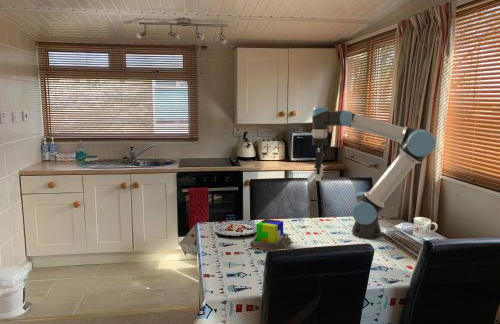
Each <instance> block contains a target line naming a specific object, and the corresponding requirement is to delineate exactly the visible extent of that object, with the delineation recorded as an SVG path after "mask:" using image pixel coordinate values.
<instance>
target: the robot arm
mask: <svg viewBox="0 0 500 324" xmlns="http://www.w3.org/2000/svg"><path fill="white" fill-rule="evenodd" d="M311 118H312V119H311V121H312V127H311V128H312V130H311V131H310V132H311V135H312V139H311V140H312V142H311V145H312V146H316V148H315V151H314V152H315V165H314V166H313V167H314V169H315V182H316V181H317V182H320V181H322V177H323V176H324V175H323V174H324V173H323V171H324V170H323V169H324V167H323V166H324V164H325V161H324V159H323V158H324V157H323V156H324V149H325V148H323V147H324V146H327V145H328V138H327V137H328V127H348V128H352V129H355V130H359V131H362V132H365V133H368V134H371V135H375V136H378V137H382V138H385V139H388V140H390V141H394V142H397V143H399V145H401V146H400V147H399V154H398V155H397V156H396V157H395V159H394V160H393V161H392V162H391V164H390V165H389V166H388V167H387V169H386V170H385V171H384V173H383V174H382V175H381V176H380V177H379V178H378V180H377V181H376V182H375V184H374V185H373V186H372V188H371V189H370V190H368V191H358V192H357V193H356V196H355V198H356V200H355V203H354V204H353V206H352V210H351V213H352V214H351V215H352V218H353V219H354V220H355V221H354V224H353V226H352V230H351V232H352V234H351V235H353V236H355V237H356V238H361V239H367V240H369V239H370V240H371V239H378V238H380V237H382V229H381V226H380V222H379V215H380V213H381V211H382V210H383V209H384V208H385V202H386V200H387V199H388V198H389V196H391V194H392V193H393V192H394V191H395V189H396V188H397V187H398V186H399V185H400V184H401V182H402V181H403V180H404V178H405V177H406V176H407V175H408V174H409V173H410V172H411V170H412V169H413V167H415V166H416V164H421V163H423V161H424V160H425V159H426V157H427V156H428V155H430V154H431V153H433V151H434V149H435V148H436V139H435V136H434V134H432V133H431V132H430V131H428V130H427V129H424V128H423V129H422V128H417V127H415V128H414V127H410V126H404V127H403V126H399V125H397V124H392V123H390V122H385V121H382V120H378V119H375V118H371V117H368V116H365V115H362V114H357V113H354V112H352V111H350V110H328V107H327V106H323V107H320V106H319V107H318V106H315V107H313V108H312V116H311Z"/></svg>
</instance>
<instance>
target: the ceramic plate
mask: <svg viewBox="0 0 500 324" xmlns="http://www.w3.org/2000/svg"><path fill="white" fill-rule="evenodd" d="M231 223H239V224H247V225H250V226H252V227H253V228H254V230H253V231H252V232H250V233H245V234H227V233H223V232H221V231H220V230H219V227H221V226H223V225H226V224H229V225H228V226H229V227H227V228H226V230H225V231H233V229H231V228H235V227H236V226H237V225H233V224H231ZM230 227H231V228H230ZM242 228H244V229H246V227H245V226H244V225H239V226H238V228H237V229H234V230H235V231H236V232H243V230H244V229H243V230H242ZM248 229H250V228H247V230H248ZM213 230H214V232H215V233H217V234H220V235H224V236H229V235H231V236H230V237H240V235H243V236H248V235H251V234H255V233H257V223H254V222H251V221H244V220H240V221H239V220H234V221H233V220H232V221H225V222H222V223H218V224H216V225H215V226H214V227H213Z"/></svg>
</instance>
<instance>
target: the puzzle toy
mask: <svg viewBox="0 0 500 324" xmlns="http://www.w3.org/2000/svg"><path fill="white" fill-rule="evenodd" d="M256 224H257V232H256V234H257V242H266V243H280V242H282V241H283V234H284V221H282V220H276V219H269V218H265V219H263V220H261V221H260V222H257V223H256Z"/></svg>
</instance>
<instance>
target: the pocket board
mask: <svg viewBox="0 0 500 324" xmlns="http://www.w3.org/2000/svg"><path fill="white" fill-rule="evenodd" d="M289 242H291V236H289V234H288V233H283V241H282V242H280V243H266V242H257V233H256V234H255V236H254V237H253V238H252V239H251V240H250V243H249V244H248V246H247V247H251V248H259V249H258V250H261V249H266V250H265V251H273V250H277V249H287V247H288V245H289Z"/></svg>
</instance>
